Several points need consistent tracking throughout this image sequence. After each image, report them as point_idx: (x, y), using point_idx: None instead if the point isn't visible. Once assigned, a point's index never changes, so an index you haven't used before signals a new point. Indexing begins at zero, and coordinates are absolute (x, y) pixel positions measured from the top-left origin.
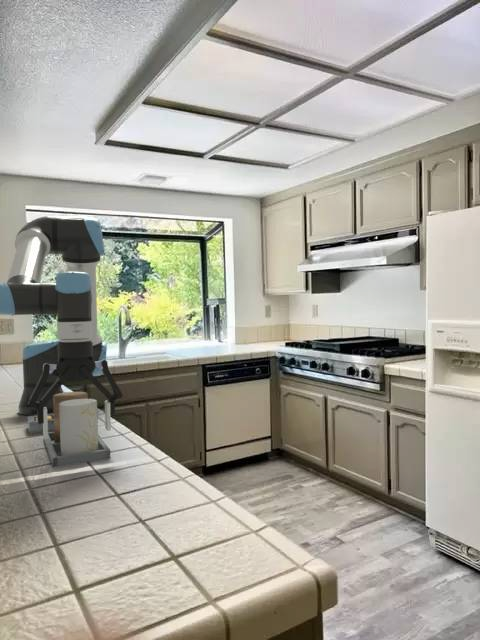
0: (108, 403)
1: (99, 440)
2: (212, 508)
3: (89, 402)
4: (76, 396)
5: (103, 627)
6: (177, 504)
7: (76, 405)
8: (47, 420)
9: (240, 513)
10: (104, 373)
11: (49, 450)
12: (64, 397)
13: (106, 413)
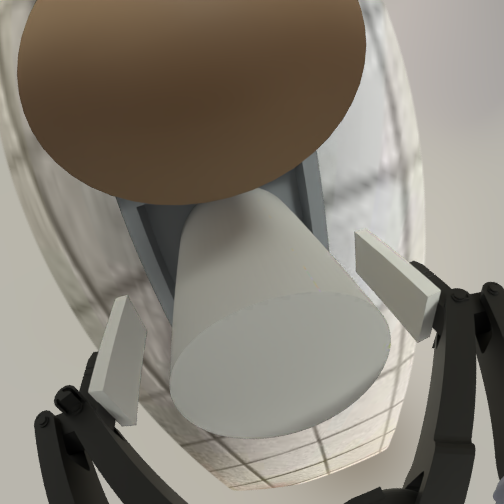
0: (421, 336)
1: (311, 195)
2: (382, 417)
3: (344, 391)
4: (266, 154)
5: (277, 486)
6: (360, 417)
7: (278, 433)
8: (139, 383)
9: (394, 419)
10: (497, 457)
11: (143, 265)
12: (136, 178)
13: (390, 297)
